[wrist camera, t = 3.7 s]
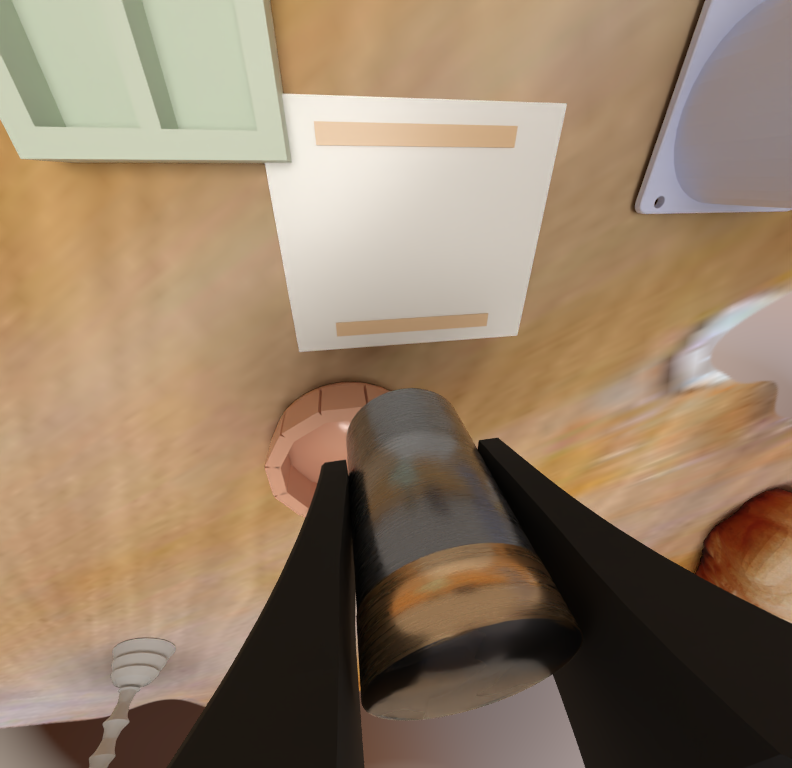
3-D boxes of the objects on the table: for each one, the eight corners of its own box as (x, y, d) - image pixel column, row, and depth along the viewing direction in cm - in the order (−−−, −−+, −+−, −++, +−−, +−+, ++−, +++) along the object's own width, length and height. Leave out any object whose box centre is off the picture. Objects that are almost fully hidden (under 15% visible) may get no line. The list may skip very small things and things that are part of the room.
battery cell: (464, 381, 10) (614, 595, 5) (455, 470, 12) (552, 689, 7) (339, 395, 10) (351, 654, 4) (351, 485, 12) (368, 736, 6)
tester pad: (558, 106, 13) (568, 103, 13) (512, 331, 19) (518, 336, 18) (255, 96, 12) (251, 91, 11) (300, 346, 17) (299, 352, 16)
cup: (420, 375, 19) (431, 399, 17) (415, 480, 24) (423, 510, 22) (259, 389, 18) (249, 418, 16) (289, 498, 23) (284, 531, 21)
